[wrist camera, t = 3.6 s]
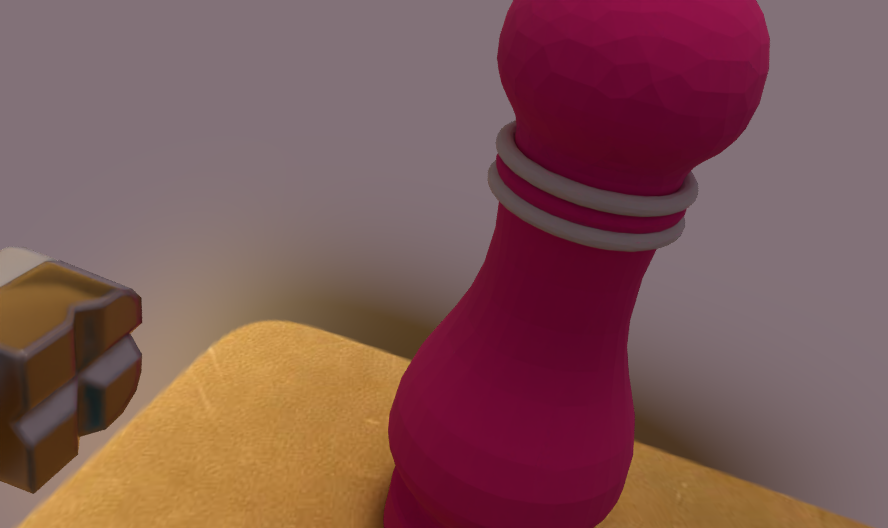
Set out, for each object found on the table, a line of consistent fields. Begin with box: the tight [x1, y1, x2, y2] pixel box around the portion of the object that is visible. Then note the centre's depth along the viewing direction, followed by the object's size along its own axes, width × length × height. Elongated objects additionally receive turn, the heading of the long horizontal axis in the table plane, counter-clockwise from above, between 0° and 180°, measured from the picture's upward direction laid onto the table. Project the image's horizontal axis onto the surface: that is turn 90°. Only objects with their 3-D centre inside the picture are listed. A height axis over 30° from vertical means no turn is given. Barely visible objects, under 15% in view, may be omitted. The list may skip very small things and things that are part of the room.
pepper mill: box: [383, 0, 770, 528], centre depth 21 cm, size 7×7×20 cm
